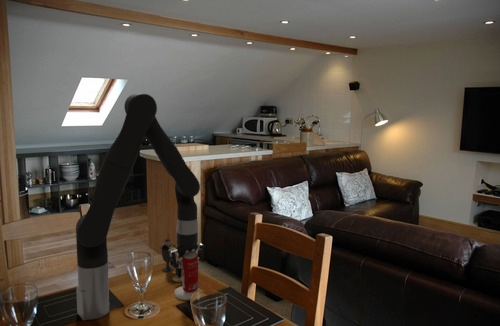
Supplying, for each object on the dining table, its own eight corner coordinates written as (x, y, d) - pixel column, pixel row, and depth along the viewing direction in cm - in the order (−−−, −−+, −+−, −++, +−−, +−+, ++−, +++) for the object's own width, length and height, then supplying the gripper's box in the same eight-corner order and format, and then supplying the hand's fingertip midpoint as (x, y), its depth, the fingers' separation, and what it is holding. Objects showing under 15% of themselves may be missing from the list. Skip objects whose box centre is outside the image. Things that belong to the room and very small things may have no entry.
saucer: (182, 302, 139) (182, 299, 139) (170, 293, 146) (170, 290, 145) (204, 295, 145) (204, 292, 144) (191, 286, 151) (191, 283, 151)
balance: (182, 287, 150) (182, 257, 149) (165, 275, 160) (165, 247, 159) (193, 283, 154) (193, 254, 152) (176, 272, 164) (176, 245, 162)
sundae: (170, 265, 171) (170, 232, 168) (178, 270, 165) (178, 236, 163) (156, 269, 166) (156, 234, 164) (164, 274, 161) (164, 239, 159)
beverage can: (199, 285, 148) (201, 250, 144) (195, 295, 142) (196, 259, 138) (184, 283, 149) (185, 247, 144) (179, 293, 143) (179, 257, 138)
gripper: (174, 237, 134) (174, 283, 137) (209, 229, 143) (209, 273, 146) (164, 231, 140) (164, 276, 142) (198, 224, 149) (198, 266, 151)
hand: (187, 274), depth 144 cm, fingers open, 6 cm apart
